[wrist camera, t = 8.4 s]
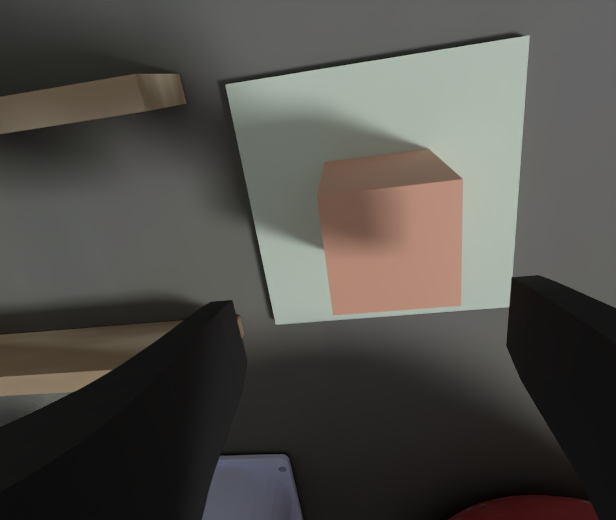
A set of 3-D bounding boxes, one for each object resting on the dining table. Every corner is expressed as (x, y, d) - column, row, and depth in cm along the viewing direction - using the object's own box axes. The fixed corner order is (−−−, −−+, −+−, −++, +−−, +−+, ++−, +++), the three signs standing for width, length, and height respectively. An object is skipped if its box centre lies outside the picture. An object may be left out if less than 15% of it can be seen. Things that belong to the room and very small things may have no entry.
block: (430, 245, 19) (460, 305, 14) (336, 254, 20) (332, 315, 15) (428, 148, 17) (463, 179, 12) (324, 161, 18) (316, 196, 13)
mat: (507, 302, 20) (510, 306, 20) (276, 320, 22) (275, 324, 22) (525, 36, 16) (529, 35, 15) (227, 84, 17) (225, 84, 17)
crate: (244, 333, 23) (225, 383, 19) (-37, 354, 25) (-102, 401, 21) (179, 73, 17) (134, 73, 14) (-173, 132, 20) (-290, 146, 16)
